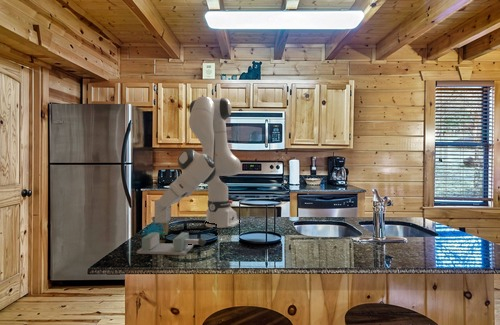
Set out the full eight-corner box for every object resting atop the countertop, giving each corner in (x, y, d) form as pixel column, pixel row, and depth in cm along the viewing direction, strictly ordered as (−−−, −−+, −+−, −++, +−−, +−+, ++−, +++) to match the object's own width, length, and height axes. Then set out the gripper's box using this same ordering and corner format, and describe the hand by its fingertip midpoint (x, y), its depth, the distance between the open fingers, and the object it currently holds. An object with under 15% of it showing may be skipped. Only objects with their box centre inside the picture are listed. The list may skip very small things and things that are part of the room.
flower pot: (150, 233, 164) (149, 216, 164) (168, 231, 168) (168, 214, 168) (152, 237, 156) (152, 219, 155) (172, 235, 160) (172, 218, 159)
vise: (193, 246, 141) (193, 232, 141) (184, 255, 129) (184, 240, 129) (149, 245, 143) (148, 231, 143) (136, 253, 131) (136, 238, 131)
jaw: (208, 244, 139) (208, 233, 139) (202, 251, 129) (202, 239, 129) (180, 243, 140) (180, 232, 140) (172, 250, 130) (172, 238, 130)
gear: (137, 237, 150) (147, 219, 156) (141, 243, 154) (151, 225, 161) (159, 242, 148) (168, 223, 154) (162, 248, 152) (171, 230, 158)
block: (170, 220, 138) (170, 199, 138) (166, 222, 133) (166, 200, 133) (159, 220, 138) (159, 199, 138) (154, 222, 134) (154, 200, 133)
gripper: (186, 179, 145) (165, 200, 146) (170, 183, 125) (145, 208, 126) (195, 189, 145) (174, 210, 146) (181, 195, 124) (156, 219, 126)
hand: (161, 209), depth 136 cm, fingers closed on block, 5 cm apart
